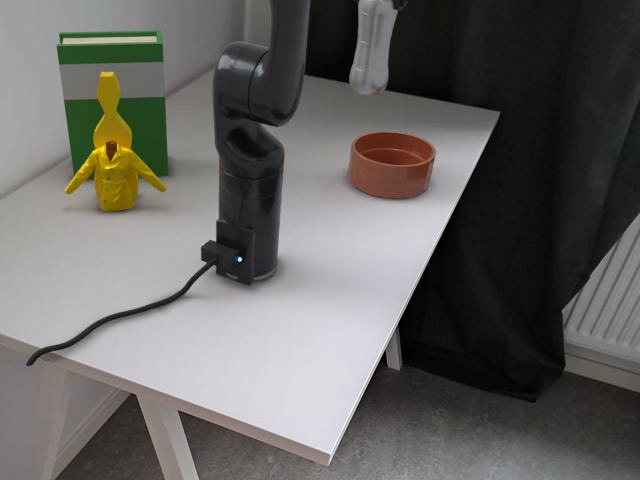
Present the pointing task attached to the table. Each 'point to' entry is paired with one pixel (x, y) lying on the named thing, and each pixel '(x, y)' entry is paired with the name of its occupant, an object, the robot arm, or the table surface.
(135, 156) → the yellow jacket
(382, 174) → the bowl
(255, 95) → the robot arm
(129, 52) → the hardback book
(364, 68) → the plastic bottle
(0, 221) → the table surface
